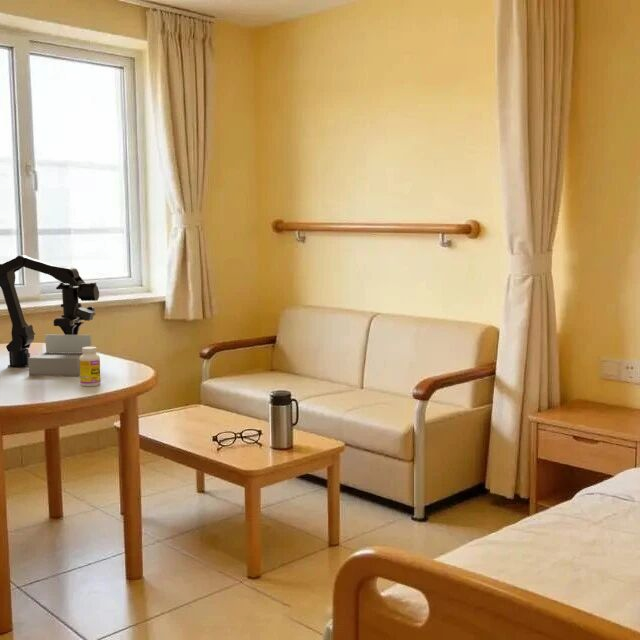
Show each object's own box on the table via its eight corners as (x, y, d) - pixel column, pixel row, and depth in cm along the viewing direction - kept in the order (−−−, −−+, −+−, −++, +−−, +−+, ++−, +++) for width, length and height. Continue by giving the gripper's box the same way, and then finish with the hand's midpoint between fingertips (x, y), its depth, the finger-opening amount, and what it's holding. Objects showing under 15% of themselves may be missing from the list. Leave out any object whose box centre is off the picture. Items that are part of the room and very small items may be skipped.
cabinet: (29, 375, 279) (28, 357, 279) (46, 367, 293) (45, 351, 292) (77, 376, 278) (76, 358, 277) (92, 368, 291) (91, 352, 291)
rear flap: (45, 334, 291) (49, 332, 295) (46, 352, 292) (50, 350, 296) (90, 335, 290) (94, 333, 293) (91, 353, 291) (95, 350, 294)
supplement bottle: (91, 387, 260) (90, 349, 258) (76, 385, 262) (74, 348, 261) (104, 383, 266) (103, 346, 264) (89, 382, 268) (88, 345, 267)
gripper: (81, 303, 283) (83, 345, 285) (100, 298, 301) (102, 338, 303) (51, 303, 284) (54, 345, 286) (72, 298, 302) (75, 338, 304)
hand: (72, 342), depth 295 cm, fingers open, 3 cm apart
